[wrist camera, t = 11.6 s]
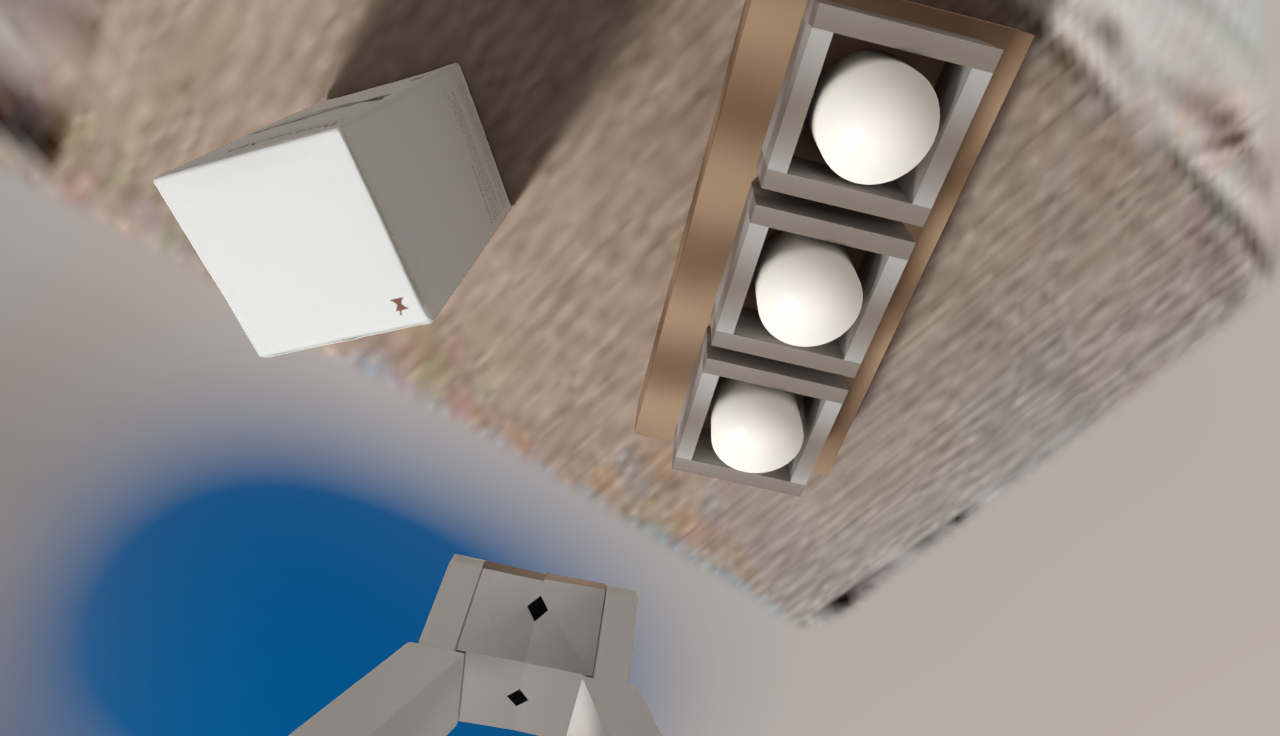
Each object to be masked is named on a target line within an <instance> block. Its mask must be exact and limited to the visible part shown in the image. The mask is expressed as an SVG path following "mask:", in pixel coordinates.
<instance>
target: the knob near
mask: <svg viewBox="0 0 1280 736" xmlns="http://www.w3.org/2000/svg"><path fill="white" fill-rule="evenodd" d="M807 120H808V125H809V129H810V132H811V134H812V137H813V139H814V141H815V142H816V144H817V146H818V148H819V150H820V152H821V154H822V156H823V158H824V159H825V161H826V163H827V164H828V165H829V167H830V168H831V169H832V170H833V171H834V172H835V173H836V174H838V175H839V176H841V177H842V178H844V179H846V180H848V181H851V182H854V183H858V184H867V185H873V184H881V183H886V182H889V181H892V180H895V179H897V178H899V177H901V176H903V175H904V174H906V173H908V172H909V171H910V170H912V169H913V168H914V167H915V166H916V165H917V164H918V163H919V162H921V160H922V159H923V158H924V157H925V156H926V154H927V153H928V151H929V150H930V148H931V146H932V144H933V142H934V140H935V138H936V135H937V132H938V128H939V121H940V107H939V101H938V98H937V95H936V93H935V91H934V89H933V87H932V85H931V84H930V82H929V81H928V80H927V79H926V78H925V77H924V76H923V75H922V74H921V73H919V72H918V71H916V70H915V69H914V68H912V67H911V66H909V65H908V64H906V63H905V62H903V61H902V60H900V59H899V58H897V57H896V56H894V55H892V54H890V53H887V52H884V51H880V50H860V51H856V52H852V53H850V54H847V55H845V56H843V57H841V58H839V59H838V60H836V61H835V62H833V63H832V64H831V65H830V66H829V67H828V68H826V70H825V71H824V72H823V73H822V74H821V75H820V77H819V78H818V81H817V84H816V87H815V90H814V93H813V96H812V99H811V102H810V105H809V108H808V111H807Z"/></svg>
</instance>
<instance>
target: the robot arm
mask: <svg viewBox="0 0 1280 736" xmlns="http://www.w3.org/2000/svg"><path fill="white" fill-rule="evenodd" d="M637 601H638V596H637V592H636V591H634V590H629V589H623V588H618V587H613V586H608V585H607V586H606V585H605V584H603V583H597V582H592V581H587V580H581V579H576V578H571V577H565V576H560V575H554V574H549V573H546V574H542V573H538V572H534V571H529V570H525V569H520V568H516V567H512V566H507V565H503V564H499V563H494V562H490V561H486V560H481V559H477V558H472V557H467V556H462V555H457V554H455V555H454V557H453V558H452V560H451V561H450V562H449V565H448V568H447V570H446V573H445V575H444V578H443V580H442V583H441V586H440V589H439V591H438V593H437V596H436V599H435V601H434V604H433V606H432V609H431V612H430V614H429V617H428V619H427V623H426V625H425V627H424V630H423V632H422V635H421V637H420V640H419V643H418V644H417V643H411V642H408V643H407V644H406V645H404V646H403V647H402V648H401V649H399V650H398V651H397V652H395V653H394V654H393V655H391V656H390V657H389V658H388V659H386V660H385V661H384V662H382V663H381V664H380V665H379V666H377V667H376V668H375V669H373V670H372V671H371V672H370V673H368V674H367V675H366V676H364V677H363V678H362V679H361V680H359V681H358V682H357V683H355V684H354V685H353V686H352V687H350V688H349V689H348V690H346V691H345V692H344V693H343V694H341V695H340V696H339V697H337V698H336V699H335V700H334V701H333V702H331V703H330V704H328V705H327V706H326V707H325V708H323V709H322V710H321V711H319V712H318V713H317V714H315V715H314V716H313V717H312V718H310V719H309V720H308V721H307V722H305V723H304V724H303V725H301V726H300V727H299V728H297V729H296V730H295V731H294V732H292V733H291V734H290V735H288V736H446V735H447V734H448V733H449V732H450V731H451V730H452V729H453V728H454V727H455V726H456V725H457V721H463V722H469V723H476V724H481V725H487V726H493V727H500V728H506V729H512V730H516V731H521V732H525V733H530V734H534V735H539V736H662V734H661V733H660V730H659V729H658V726H657V724H656V722H655V720H654V719H653V716H652V714H651V712H650V710H649V708H648V706H647V704H646V702H645V700H644V698H643V696H642V694H641V692H640V690H639V688H638V687H636V686H631V685H629V680H630V669H631V660H632V650H633V640H634V630H635V621H636V610H637ZM512 726H513V727H512Z"/></svg>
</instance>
